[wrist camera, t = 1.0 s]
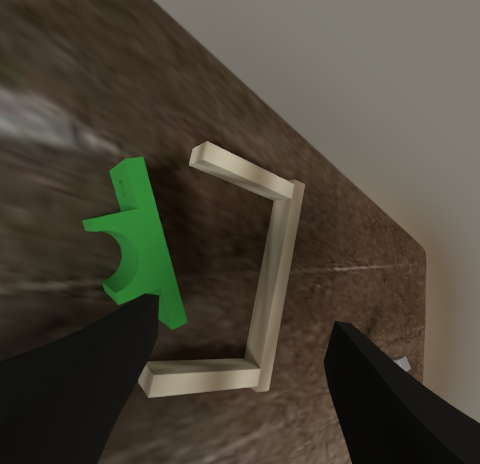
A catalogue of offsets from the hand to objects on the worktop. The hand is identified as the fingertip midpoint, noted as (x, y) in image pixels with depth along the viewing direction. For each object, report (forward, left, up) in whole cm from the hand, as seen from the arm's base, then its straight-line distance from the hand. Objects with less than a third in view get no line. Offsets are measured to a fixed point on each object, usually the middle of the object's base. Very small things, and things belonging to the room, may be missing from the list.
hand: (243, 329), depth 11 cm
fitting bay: (+6, +2, -13) cm, 14 cm away
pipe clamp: (-2, +2, -13) cm, 13 cm away
